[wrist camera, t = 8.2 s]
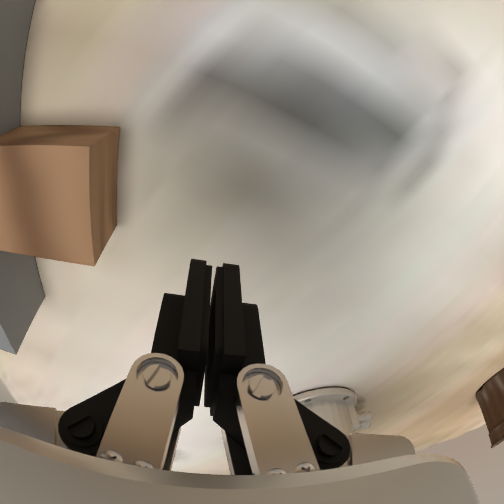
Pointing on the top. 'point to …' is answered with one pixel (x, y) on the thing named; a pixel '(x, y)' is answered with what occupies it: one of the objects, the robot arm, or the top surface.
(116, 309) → the top surface
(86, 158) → the walnut block
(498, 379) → the plant pot
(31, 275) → the board
